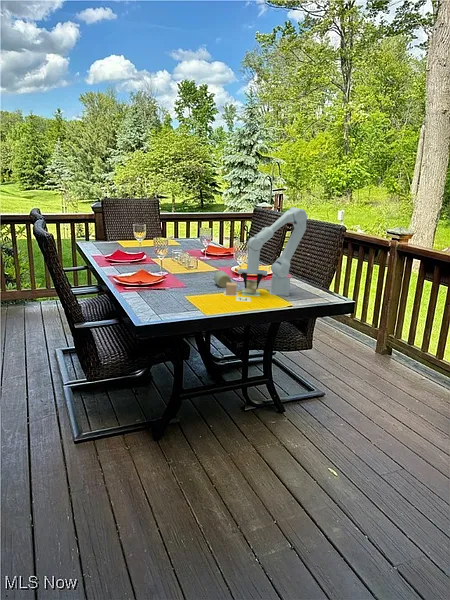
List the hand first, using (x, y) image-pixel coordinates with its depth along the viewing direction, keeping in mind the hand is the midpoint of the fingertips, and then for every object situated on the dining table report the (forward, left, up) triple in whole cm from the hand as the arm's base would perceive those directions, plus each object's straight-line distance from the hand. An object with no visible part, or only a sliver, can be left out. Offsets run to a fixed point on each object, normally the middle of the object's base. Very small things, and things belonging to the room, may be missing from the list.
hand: (251, 288), depth 219 cm
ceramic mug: (+13, -12, -3) cm, 18 cm away
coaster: (0, 0, -3) cm, 3 cm away
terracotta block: (+10, +3, -3) cm, 11 cm away
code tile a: (+4, +11, -3) cm, 12 cm away
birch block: (0, 0, -2) cm, 2 cm away
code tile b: (+10, +3, -3) cm, 11 cm away
